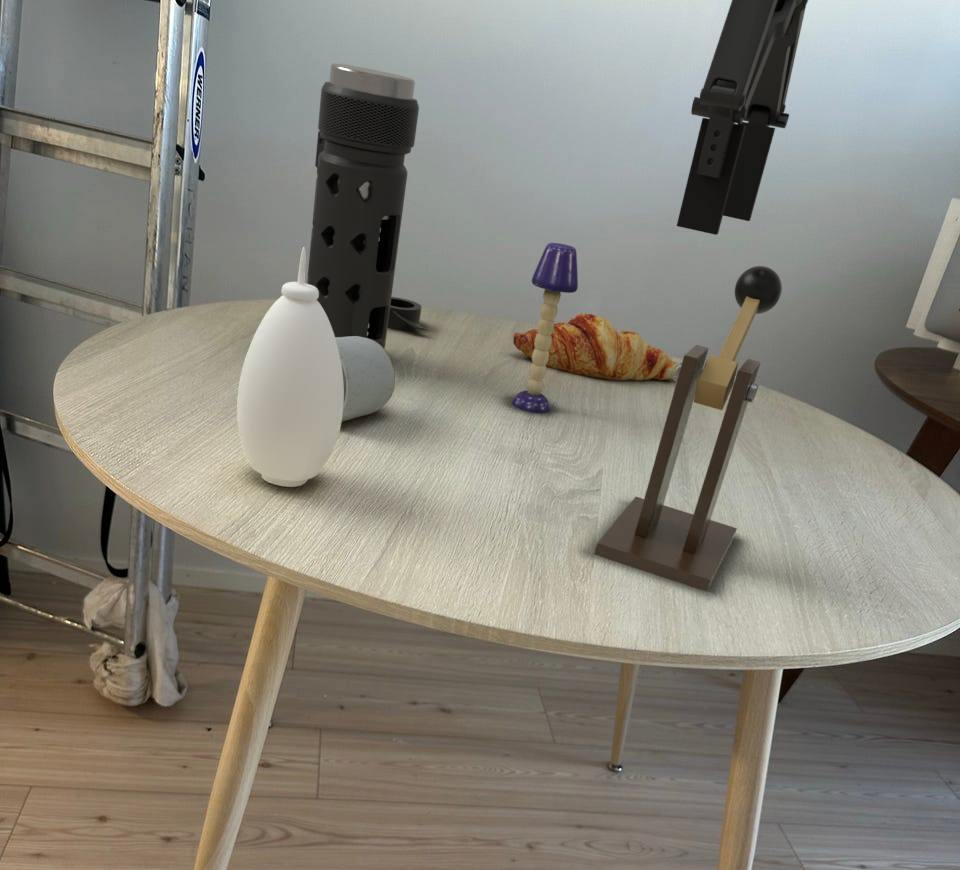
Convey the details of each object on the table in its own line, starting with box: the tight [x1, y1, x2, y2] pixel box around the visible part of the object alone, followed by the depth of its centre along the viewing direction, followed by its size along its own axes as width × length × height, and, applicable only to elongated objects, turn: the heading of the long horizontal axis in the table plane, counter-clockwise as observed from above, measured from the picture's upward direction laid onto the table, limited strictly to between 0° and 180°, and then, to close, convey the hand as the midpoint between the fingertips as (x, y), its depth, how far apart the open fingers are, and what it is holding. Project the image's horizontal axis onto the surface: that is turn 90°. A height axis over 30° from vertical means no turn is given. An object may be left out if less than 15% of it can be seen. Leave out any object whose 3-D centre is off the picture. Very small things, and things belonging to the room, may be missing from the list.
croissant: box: [512, 312, 679, 381], centre depth 125 cm, size 21×10×8 cm, turn 97°
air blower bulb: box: [236, 246, 344, 488], centre depth 76 cm, size 8×8×18 cm
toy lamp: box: [511, 242, 579, 414], centre depth 104 cm, size 5×5×17 cm
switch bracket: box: [593, 344, 761, 593], centre depth 79 cm, size 12×9×16 cm
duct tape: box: [387, 296, 429, 332], centre depth 127 cm, size 8×10×3 cm
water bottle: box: [306, 63, 420, 350], centre depth 105 cm, size 10×28×10 cm
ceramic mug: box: [335, 336, 396, 423], centre depth 95 cm, size 11×8×8 cm
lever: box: [693, 265, 783, 411], centre depth 78 cm, size 14×4×4 cm, turn 158°
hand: (715, 223), depth 73 cm, fingers open, 13 cm apart
